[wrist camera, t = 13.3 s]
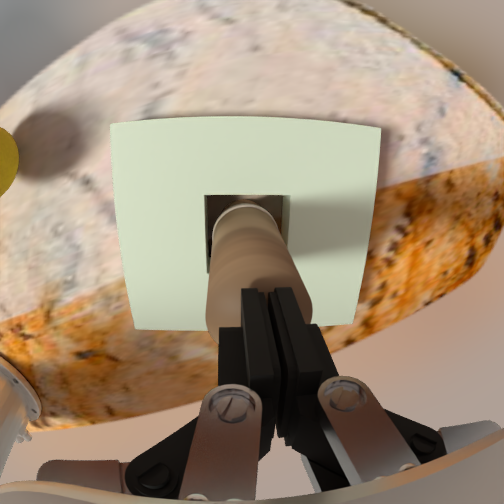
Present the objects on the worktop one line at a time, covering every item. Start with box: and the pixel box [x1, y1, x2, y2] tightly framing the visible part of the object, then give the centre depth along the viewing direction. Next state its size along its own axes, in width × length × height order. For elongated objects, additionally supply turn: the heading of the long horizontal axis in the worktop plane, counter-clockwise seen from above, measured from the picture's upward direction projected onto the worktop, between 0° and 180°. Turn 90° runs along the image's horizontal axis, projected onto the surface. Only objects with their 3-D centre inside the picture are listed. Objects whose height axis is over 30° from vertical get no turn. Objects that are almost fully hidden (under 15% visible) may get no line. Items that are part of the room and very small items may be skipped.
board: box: [110, 116, 381, 331], centre depth 20 cm, size 14×16×2 cm
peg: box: [205, 199, 313, 345], centre depth 16 cm, size 4×4×11 cm
